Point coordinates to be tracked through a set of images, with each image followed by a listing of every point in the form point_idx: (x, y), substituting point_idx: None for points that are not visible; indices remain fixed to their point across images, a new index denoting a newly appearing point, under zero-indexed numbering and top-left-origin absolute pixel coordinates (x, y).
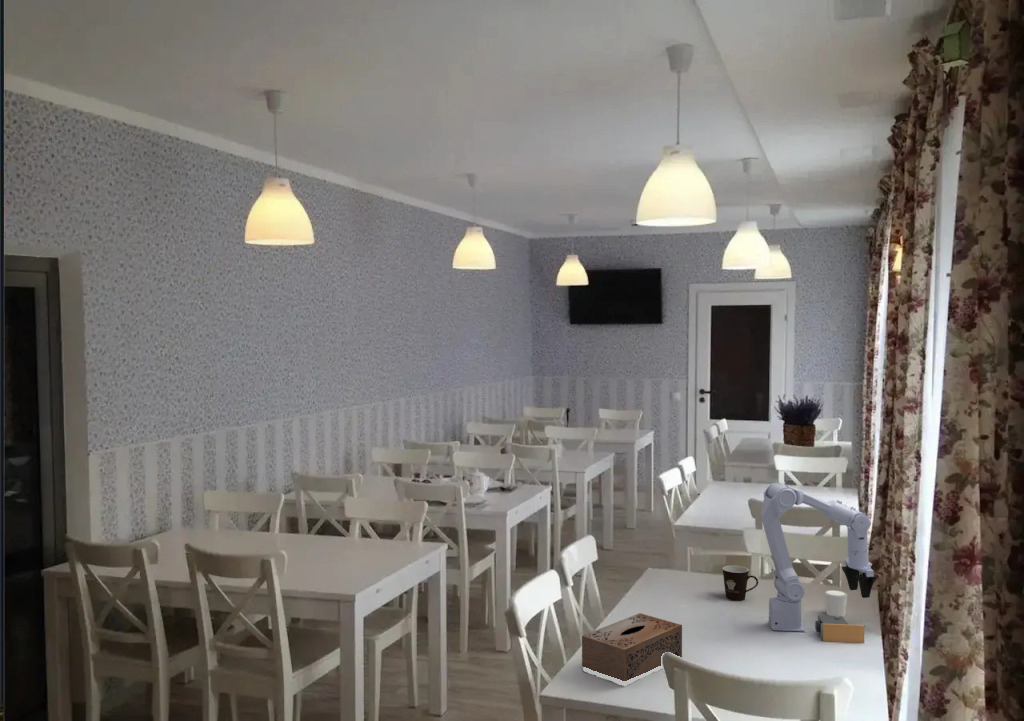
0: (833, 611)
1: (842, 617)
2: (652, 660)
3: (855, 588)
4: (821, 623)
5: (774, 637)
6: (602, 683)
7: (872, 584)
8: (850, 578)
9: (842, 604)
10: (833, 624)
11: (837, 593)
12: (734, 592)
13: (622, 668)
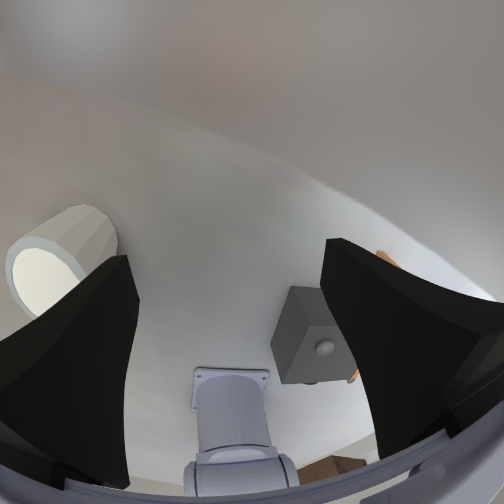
0: None
1: (322, 328)
2: (355, 468)
3: (127, 274)
4: (348, 382)
5: (289, 409)
6: None
7: (437, 290)
8: (116, 378)
9: (100, 254)
10: None
11: (46, 284)
12: None
13: None
